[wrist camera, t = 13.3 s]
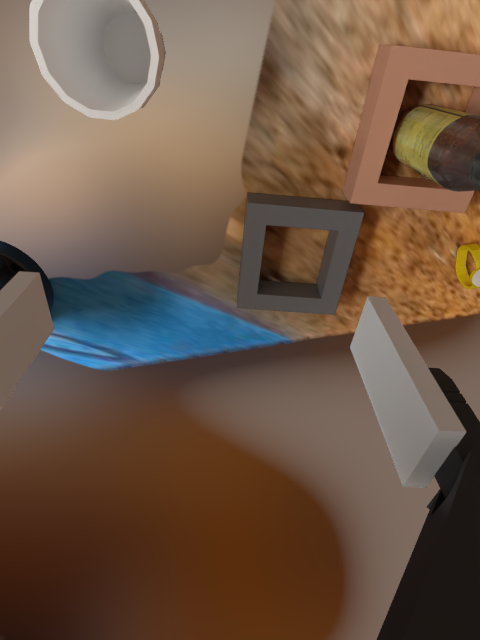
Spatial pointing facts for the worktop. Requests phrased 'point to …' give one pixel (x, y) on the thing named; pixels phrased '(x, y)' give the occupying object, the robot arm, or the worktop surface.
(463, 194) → the holder
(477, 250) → the watch
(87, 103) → the foam cup
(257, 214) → the holder
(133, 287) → the worktop surface
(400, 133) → the sauce bottle
